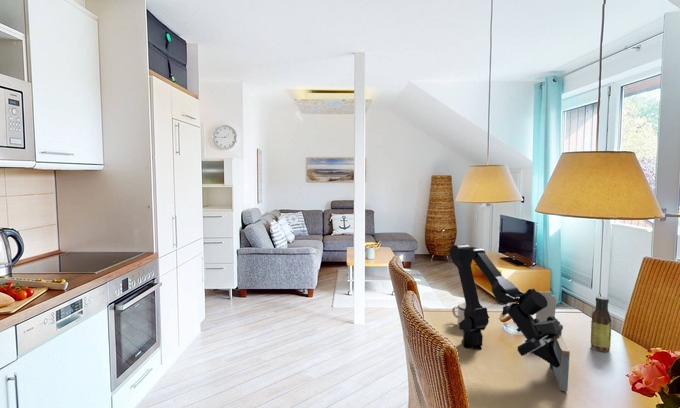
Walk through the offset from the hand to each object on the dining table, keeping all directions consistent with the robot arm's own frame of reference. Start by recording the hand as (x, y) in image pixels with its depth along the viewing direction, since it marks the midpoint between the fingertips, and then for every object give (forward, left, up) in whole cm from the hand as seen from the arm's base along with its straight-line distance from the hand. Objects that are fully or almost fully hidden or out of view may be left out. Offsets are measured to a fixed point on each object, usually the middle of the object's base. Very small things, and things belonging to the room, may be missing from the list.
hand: (558, 366), depth 115 cm
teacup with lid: (-22, +44, -7) cm, 50 cm away
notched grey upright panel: (+11, +41, -7) cm, 43 cm away
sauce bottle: (+26, +32, -7) cm, 42 cm away
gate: (+2, +4, -6) cm, 7 cm away
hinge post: (+4, +13, -6) cm, 15 cm away
